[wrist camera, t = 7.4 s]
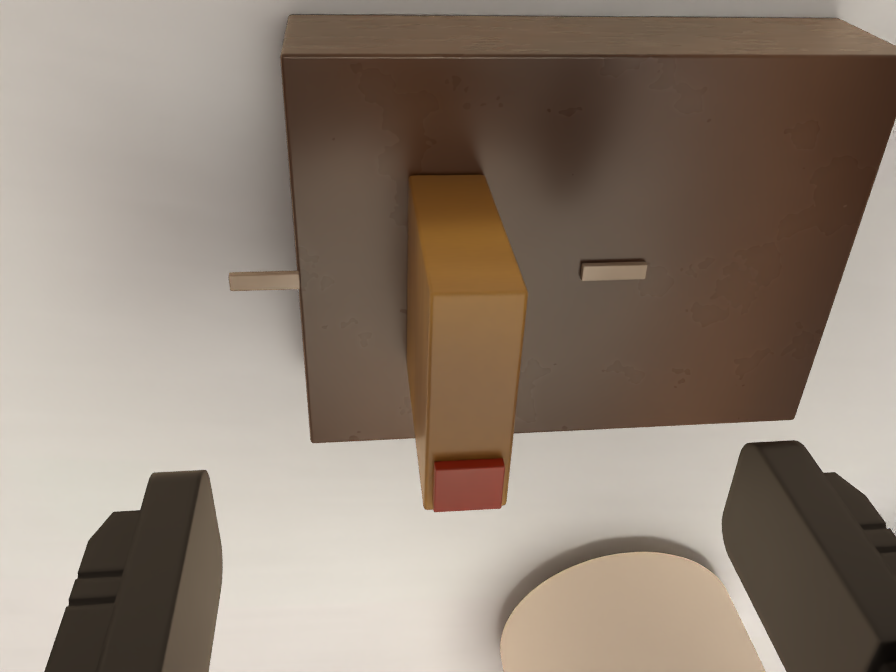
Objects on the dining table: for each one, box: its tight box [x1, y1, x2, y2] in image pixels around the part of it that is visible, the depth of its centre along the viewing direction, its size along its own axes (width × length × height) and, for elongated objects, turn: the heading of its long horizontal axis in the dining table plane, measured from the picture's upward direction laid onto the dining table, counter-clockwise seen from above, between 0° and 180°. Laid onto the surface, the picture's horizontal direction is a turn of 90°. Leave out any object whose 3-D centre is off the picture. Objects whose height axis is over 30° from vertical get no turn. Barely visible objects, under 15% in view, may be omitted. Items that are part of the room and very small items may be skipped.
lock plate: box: [229, 15, 896, 443], centre depth 19 cm, size 13×9×3 cm
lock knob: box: [407, 175, 528, 512], centre depth 15 cm, size 4×2×5 cm, turn 178°
